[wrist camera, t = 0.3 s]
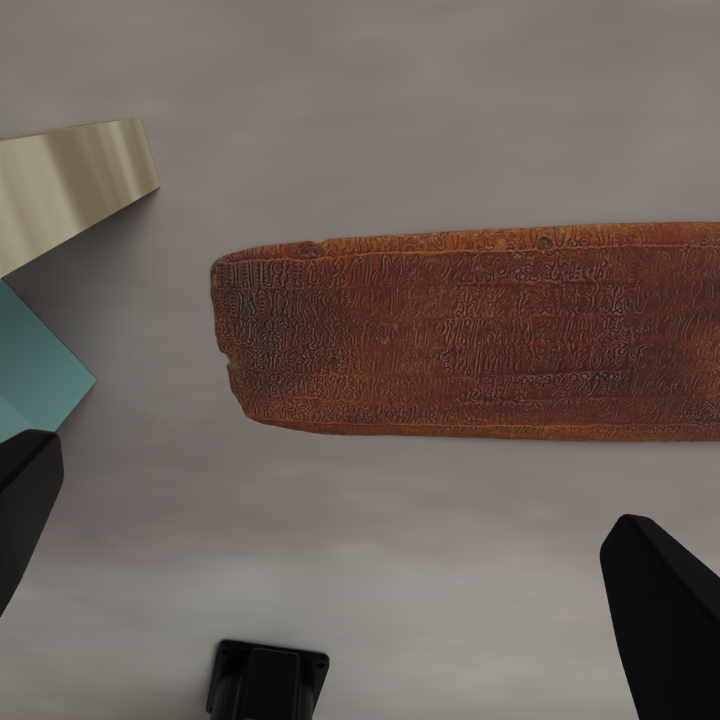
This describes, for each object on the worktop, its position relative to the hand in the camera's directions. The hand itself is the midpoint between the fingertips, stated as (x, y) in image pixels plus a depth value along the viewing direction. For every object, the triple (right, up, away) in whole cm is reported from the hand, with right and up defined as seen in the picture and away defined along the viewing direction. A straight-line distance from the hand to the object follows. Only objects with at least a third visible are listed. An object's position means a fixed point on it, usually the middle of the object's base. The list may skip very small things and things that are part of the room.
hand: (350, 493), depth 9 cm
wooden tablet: (+7, +3, +16) cm, 18 cm away
